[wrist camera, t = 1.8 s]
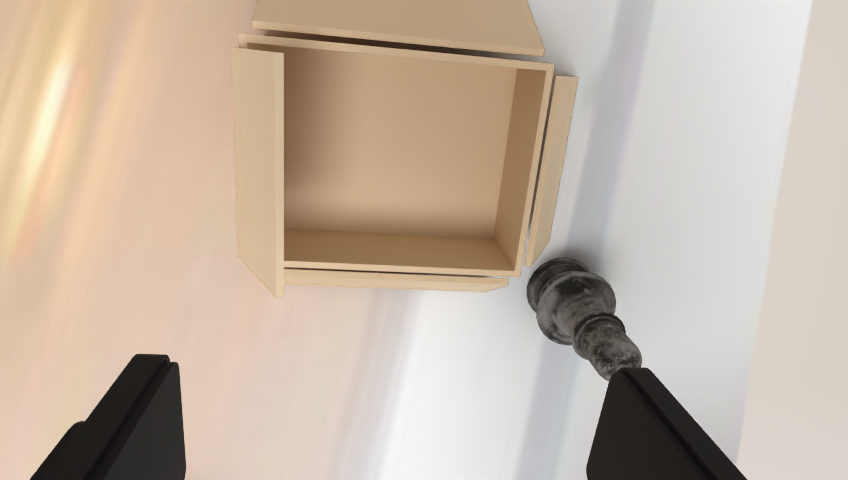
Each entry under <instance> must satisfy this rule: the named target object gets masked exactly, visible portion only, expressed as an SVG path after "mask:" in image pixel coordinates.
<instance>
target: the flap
mask: <svg viewBox="0 0 848 480" xmlns="http://www.w3.org/2000/svg"><path fill="white" fill-rule="evenodd" d="M231 54H232V85H233V116H234V146H235V177H236V208H237V238H238V257H239V258H240V259H241V261H242V262H243V263H244V264H245V265H246V266H247V267H248V268H249V269H250V271H251V272H252V273H253V274H254V275H255V276H256V277H257V278H258V279H259V280H260V282H261V283H262V284H263V285H264V286H265V287H266V288H267V289H268V290H269V291H270V293H271V294H272V295H273V296H274V297H275V298H276V299H277V298H282V297H284V53H278V52H270V51H261V50H253V49H244V48H235V47H231Z"/></svg>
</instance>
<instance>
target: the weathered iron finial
mask: <svg viewBox="0 0 848 480" xmlns="http://www.w3.org/2000/svg"><path fill="white" fill-rule="evenodd" d="M527 298H528V302H529V304H530V306H531V307H532V309H533V310H534V311H535V312H536V313H537V316H536V317H537V321H538V325H539V327H540V329H541V330H542V332H543V334H544V335H545V336H547V337H548V338H549V339H550V340H552V341H554V342H556V343H558V344H563V345H573V348H574V350H575V352H576V353H577V354H578V355H579V356H580V357H582V358H584V359H586V360H589V361H590V363H591V364H592V365H593V367H594V368H595V370H596V371H597V372H598V374H599V375H600V376H602V377H603V378H604V379H605V380H607V381H609V380H610V378H611V376H612V374H614V373H617V372H618V370H619V369H620V368H622V367H640V368H641V364H642V356H641V353H640V351H639V349H638V347H637V346H636V345H635V344H634V343H633V342H632V341H631V340H630V339H629V337H628V336H627V335H626V334H625V333H626V332H625V326H624V325H623V323H622V321H621V320H620V319H619V318H618V317H617V316H615V315H614V313H615V307H616V299H615V294H614V291H613V290H612V288H611V286H610V284H608V283H607V282H606V281H605V280H604V279H603V278H602V277H600V276H598V275H596V274H593V273H590V272H589V271H588V269H587V268H586V267H585V266H584V265H583V264H582V263H581V262H579V261H577V260H575V259H570V258H557V259H553V260H550V261H548V262H546V263H544V264H543V265H541V266H540V267H539V268H538V269H537V270H536V271H535V272H534V273H533V275H532V276H531V278H530V280H529V283H528V286H527Z"/></svg>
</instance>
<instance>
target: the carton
mask: <svg viewBox="0 0 848 480" xmlns="http://www.w3.org/2000/svg"><path fill="white" fill-rule="evenodd" d="M251 21H252V28H258V29H268V30H278V31H288V32H299V33H309V34H319V35H329V36H339V37H349V38H360V39H370V40H380V41H390V42H400V43H410V44H421V45H431V46H441V47H451V48H461V49H471V50H481V51H492V52H502V53H512V54H522V55H532V56H542V57H543V55H544V51H545V48H544V46H543V43H542V40H541V38H540V35H539V32H538V30H537V27H536V24H535V21H534V19H533V16H532V13H531V11H530V8H529V5H528V3H527V0H259V1H258V4H257V7H256V9H255V12H254V15H253V18H252V20H251ZM239 48H244V49H253V50H261V51H270V52H278V53H284V267H297V268H320V269H343V270H366V271H390V272H413V273H436V274H459V275H483V276H506V277H520V273H521V267H522V261H523V255H524V249H525V243H526V237H527V231H528V225H529V219H530V212H531V206H532V200H533V194H534V188H535V182H536V176H537V170H538V164H539V158H540V152H541V145H542V139H543V133H544V127H545V121H546V115H547V109H548V103H549V97H550V91H551V85H552V78H553V72H554V66H555V64H551V63H541V62H530V61H520V60H510V59H499V58H489V57H479V56H468V55H458V54H448V53H437V52H427V51H417V50H407V49H396V48H386V47H376V46H365V45H355V44H345V43H334V42H324V41H314V40H303V39H293V38H283V37H272V36H262V35H252V34H241V33H239ZM578 79H579V77H570V76H556V78H555V84H554V90H553V96H552V102H551V108H550V114H549V120H548V127H547V133H546V139H545V145H544V151H543V157H542V163H541V169H540V175H539V181H538V187H537V193H536V199H535V205H534V211H533V217H532V223H531V229H530V235H529V241H528V247H527V253H526V259H525V265H524V266H527V267H531V266H532V265H533V263H534V262H535V261H536V259H537V258H538V256H539V255H540V254H541V252H542V251H543V250H544V248H545V247H546V245H547V244H548V243H549V240H550V234H551V229H552V223H553V218H554V212H555V206H556V201H557V195H558V190H559V184H560V179H561V173H562V168H563V162H564V157H565V151H566V145H567V140H568V134H569V129H570V123H571V118H572V112H573V107H574V101H575V96H576V90H577V84H578ZM284 284H287V285H312V286H338V287H364V288H390V289H415V290H441V291H467V292H487V291H490V290H494V289H497V288H500V287H503V286H506V285H508V279H506V278H482V277H459V276H435V275H412V274H388V273H365V272H341V271H318V270H294V269H284Z"/></svg>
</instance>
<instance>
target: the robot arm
mask: <svg viewBox="0 0 848 480" xmlns="http://www.w3.org/2000/svg"><path fill="white" fill-rule="evenodd" d="M185 472H186V460H185V445H184V431H183V417H182V403H181V388H180V374H179V365H178V363H177V362H170V359H169V357H168V356H167V355H157V354H136V355H135V356H134V357H133V358H132V359H131V361H130V362H129V363H128V365H127V366H126V367H125V369H124V370H123V371H122V373H121V374H120V375H119V377H118V378H117V379H116V381H115V382H114V383H113V385H112V386H111V387H110V389H109V390H108V391H107V393H106V394H105V395H104V397H103V398H102V399H101V401H100V402H99V403H98V405H97V406H96V407H95V409H94V410H93V411H92V413H91V414H90V415H89V417H88V418H87V419H86V421H80V422H77V423H75V424H74V425H73V426H72V427H71V428H70V429H69V430H68V431H67V432H66V433H65V435H64V436H63V437H62V439H61V440H60V441H59V443H58V444H57V445H56V446H55V448H54V449H53V450H52V452H51V453H50V454H49V455H48V457H47V458H46V459H45V461H44V462H43V463H42V464H41V466H40V467H39V468H38V470H37V471H36V472H35V474H34V475H33V476H32V477H31V479H30V480H184V478H185ZM586 472H587V478H588V480H747V479H746V478H745V477H744V476H743V474H742V473H741V472H740V471H739V470H738V469H737V468H736V466H735V465H734V464H733V463H732V462H731V461H730V460H729V459H728V457H727V456H726V455H725V454H724V453H723V452H722V451H721V449H720V448H719V447H718V446H717V445H716V444H715V443H714V442H713V440H712V439H711V438H710V437H709V436H708V435H707V434H706V433H705V431H704V430H703V429H702V428H701V427H700V426H699V425H698V423H697V422H696V421H695V420H694V419H693V418H692V417H691V416H690V414H689V413H688V412H687V411H686V410H685V409H684V408H683V406H682V405H681V404H680V403H679V402H678V401H677V400H676V399H675V397H674V396H673V395H672V394H671V393H670V392H669V391H668V390H667V388H666V387H665V386H664V385H663V384H662V383H661V382H660V380H659V379H658V378H657V377H656V376H655V375H654V374H653V373H652V371H651V370H649V369H648V368H640V367H622V368H620V369H619V370H618V372H617V373H614V374H612V376H611V378H610V380H609V384H608V388H607V392H606V395H605V399H604V403H603V407H602V410H601V414H600V418H599V422H598V425H597V429H596V433H595V436H594V440H593V444H592V448H591V451H590V455H589V459H588V463H587V468H586Z"/></svg>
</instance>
